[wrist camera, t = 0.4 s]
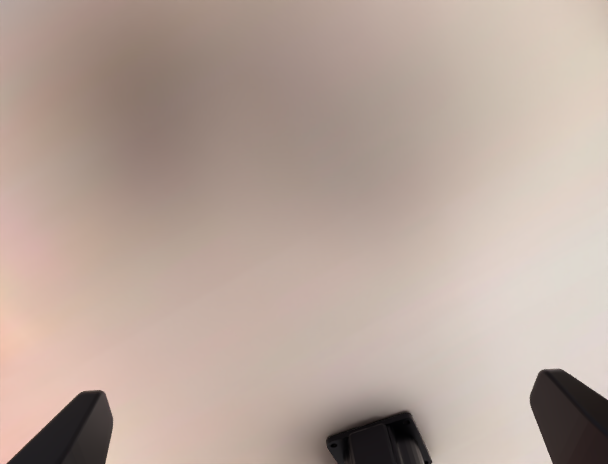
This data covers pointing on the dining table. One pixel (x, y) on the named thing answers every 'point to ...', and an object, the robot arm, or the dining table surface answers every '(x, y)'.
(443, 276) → the dining table surface
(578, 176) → the dining table surface
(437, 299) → the dining table surface
